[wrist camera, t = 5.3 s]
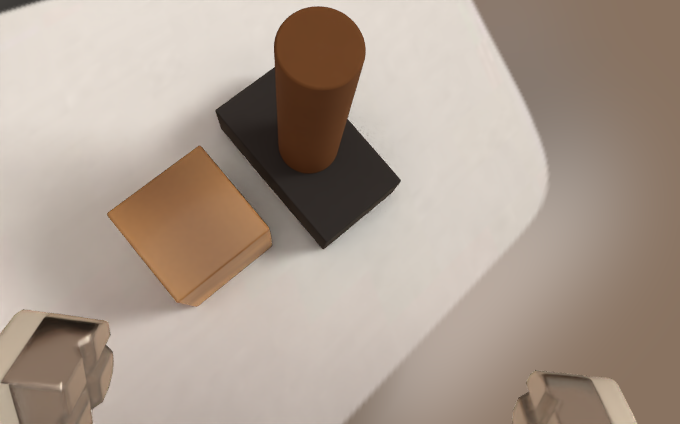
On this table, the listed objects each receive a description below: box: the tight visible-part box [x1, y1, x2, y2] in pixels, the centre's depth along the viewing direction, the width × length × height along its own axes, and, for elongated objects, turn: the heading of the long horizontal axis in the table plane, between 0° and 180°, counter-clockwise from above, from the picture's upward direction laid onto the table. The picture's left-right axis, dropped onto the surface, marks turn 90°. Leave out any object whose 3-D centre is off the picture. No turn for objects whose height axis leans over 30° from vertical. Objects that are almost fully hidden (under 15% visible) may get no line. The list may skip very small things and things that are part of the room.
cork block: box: [107, 146, 272, 307], centre depth 21 cm, size 4×4×4 cm
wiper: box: [216, 6, 401, 249], centre depth 19 cm, size 4×7×10 cm, turn 40°
